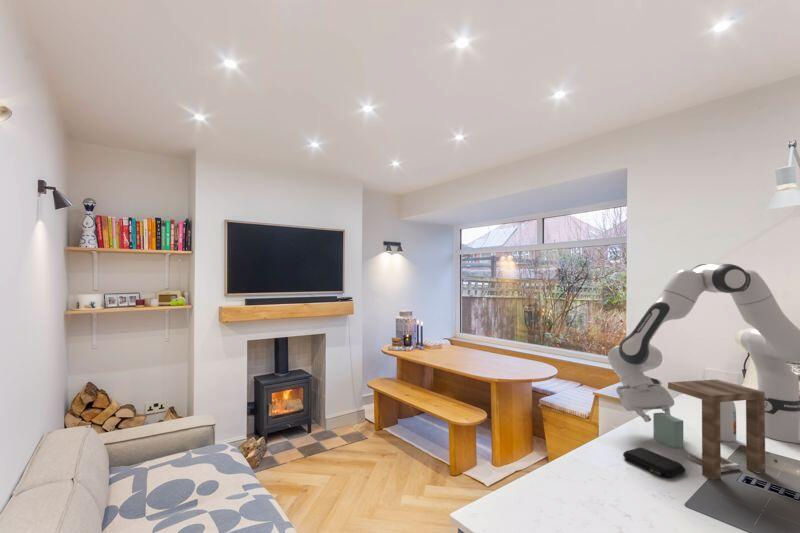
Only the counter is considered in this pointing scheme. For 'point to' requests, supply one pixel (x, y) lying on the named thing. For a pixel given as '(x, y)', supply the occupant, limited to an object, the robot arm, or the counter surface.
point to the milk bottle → (728, 421)
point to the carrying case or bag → (654, 462)
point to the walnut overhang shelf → (711, 434)
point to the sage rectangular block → (668, 429)
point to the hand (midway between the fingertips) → (659, 420)
